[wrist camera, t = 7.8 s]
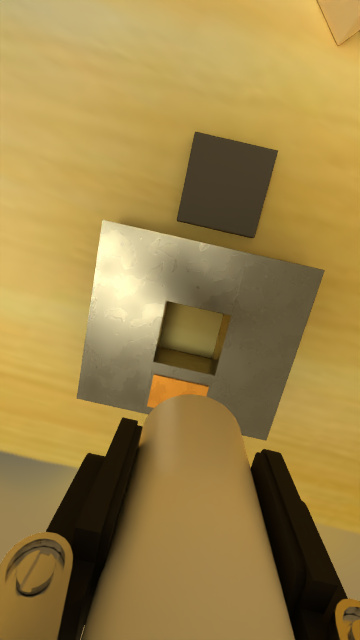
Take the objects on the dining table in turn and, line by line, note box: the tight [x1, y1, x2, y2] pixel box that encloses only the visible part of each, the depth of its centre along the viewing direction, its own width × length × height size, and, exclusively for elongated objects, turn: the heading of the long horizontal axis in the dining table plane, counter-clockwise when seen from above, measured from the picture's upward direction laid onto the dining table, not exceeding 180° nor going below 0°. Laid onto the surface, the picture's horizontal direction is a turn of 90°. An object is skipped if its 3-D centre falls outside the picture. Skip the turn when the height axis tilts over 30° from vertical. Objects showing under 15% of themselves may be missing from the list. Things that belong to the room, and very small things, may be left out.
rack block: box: [77, 220, 325, 440], centre depth 26 cm, size 16×18×4 cm
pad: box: [177, 132, 278, 238], centre depth 24 cm, size 7×7×1 cm
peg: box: [81, 394, 295, 640], centre depth 6 cm, size 4×4×10 cm
